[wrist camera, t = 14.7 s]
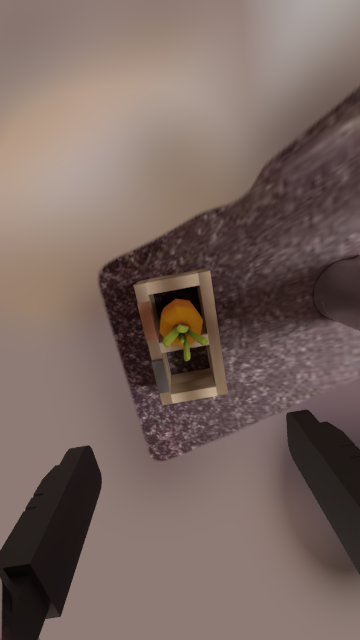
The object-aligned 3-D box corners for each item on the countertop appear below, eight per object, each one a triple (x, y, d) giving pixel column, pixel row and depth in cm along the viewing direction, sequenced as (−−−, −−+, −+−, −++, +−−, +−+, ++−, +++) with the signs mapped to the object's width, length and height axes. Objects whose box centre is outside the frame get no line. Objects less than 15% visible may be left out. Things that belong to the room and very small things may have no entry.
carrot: (201, 299, 34) (221, 333, 19) (184, 326, 35) (192, 377, 21) (172, 283, 33) (172, 305, 19) (156, 311, 34) (144, 353, 20)
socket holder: (204, 268, 32) (210, 271, 27) (220, 374, 37) (228, 395, 32) (140, 280, 33) (132, 285, 27) (164, 384, 38) (162, 407, 32)
